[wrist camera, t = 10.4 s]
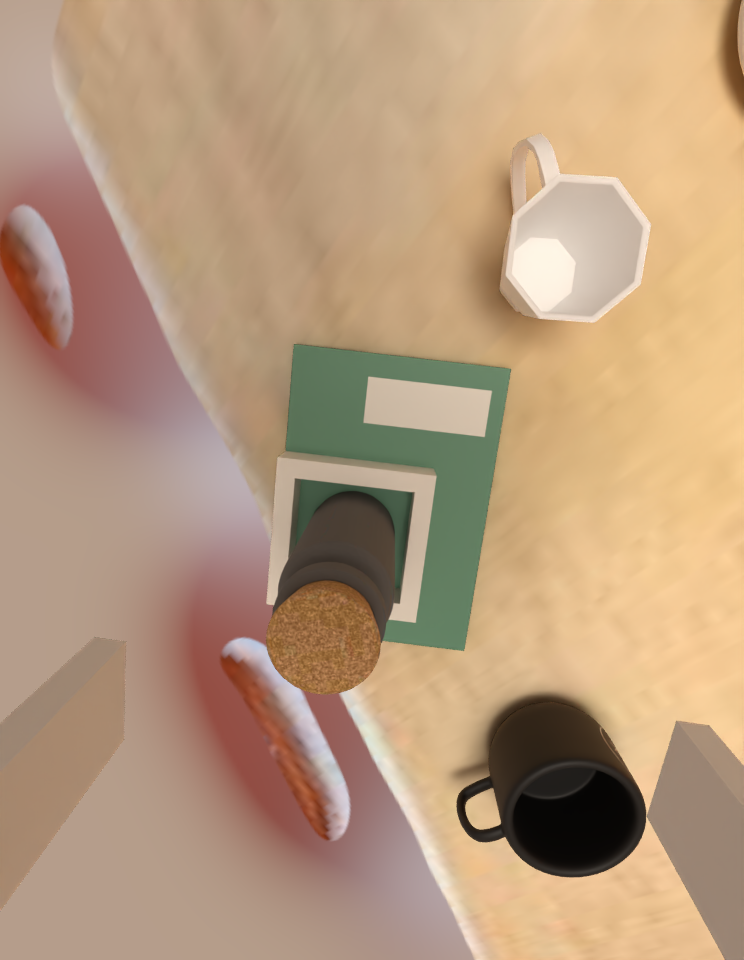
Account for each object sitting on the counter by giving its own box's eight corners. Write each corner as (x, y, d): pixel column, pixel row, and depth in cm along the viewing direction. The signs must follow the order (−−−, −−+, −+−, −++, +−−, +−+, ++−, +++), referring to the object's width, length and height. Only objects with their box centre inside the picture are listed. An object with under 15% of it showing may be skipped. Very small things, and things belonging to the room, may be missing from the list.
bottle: (316, 483, 35) (258, 567, 20) (401, 496, 35) (405, 589, 20) (305, 563, 36) (245, 696, 22) (388, 576, 36) (383, 718, 22)
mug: (580, 672, 38) (622, 740, 31) (619, 770, 40) (667, 856, 33) (429, 725, 40) (437, 801, 33) (473, 817, 41) (489, 909, 34)
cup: (494, 351, 33) (524, 346, 26) (450, 192, 32) (468, 133, 24) (601, 315, 33) (667, 298, 25) (562, 150, 31) (620, 74, 23)
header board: (296, 344, 34) (285, 342, 31) (508, 368, 34) (520, 368, 30) (274, 621, 38) (263, 644, 35) (462, 645, 38) (468, 670, 35)
